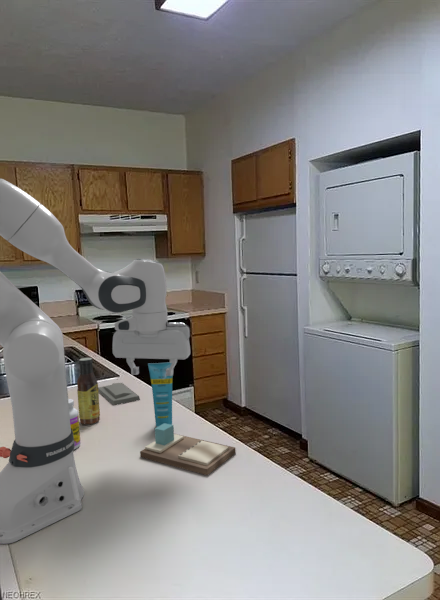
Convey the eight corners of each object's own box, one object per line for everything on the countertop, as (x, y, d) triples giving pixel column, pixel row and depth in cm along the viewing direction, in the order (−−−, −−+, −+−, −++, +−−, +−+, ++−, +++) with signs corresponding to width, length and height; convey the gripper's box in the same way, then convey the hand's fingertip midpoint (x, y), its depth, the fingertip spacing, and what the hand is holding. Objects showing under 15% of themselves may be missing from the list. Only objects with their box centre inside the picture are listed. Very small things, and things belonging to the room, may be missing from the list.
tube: (151, 429, 136) (147, 365, 134) (151, 423, 141) (148, 361, 139) (177, 427, 137) (173, 363, 135) (176, 421, 142) (173, 359, 140)
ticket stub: (160, 453, 117) (159, 435, 116) (145, 449, 119) (144, 431, 119) (184, 438, 125) (183, 421, 124) (169, 434, 128) (168, 418, 127)
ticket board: (207, 475, 107) (206, 466, 107) (140, 457, 118) (139, 448, 118) (235, 453, 118) (235, 444, 118) (172, 438, 129) (171, 430, 129)
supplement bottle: (73, 453, 122) (69, 406, 121) (50, 452, 124) (46, 405, 122) (85, 442, 129) (81, 397, 127) (63, 441, 130) (59, 397, 129)
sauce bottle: (97, 425, 141) (92, 361, 139) (76, 426, 141) (71, 362, 139) (103, 417, 148) (98, 356, 145) (83, 418, 148) (78, 357, 146)
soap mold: (123, 387, 181) (122, 378, 180) (140, 401, 163) (140, 391, 163) (97, 392, 176) (96, 383, 176) (112, 407, 159) (111, 397, 158)
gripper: (192, 320, 120) (194, 372, 122) (118, 319, 124) (121, 370, 126) (186, 324, 114) (187, 379, 115) (108, 323, 118) (111, 376, 120)
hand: (152, 374), depth 121 cm, fingers open, 8 cm apart
